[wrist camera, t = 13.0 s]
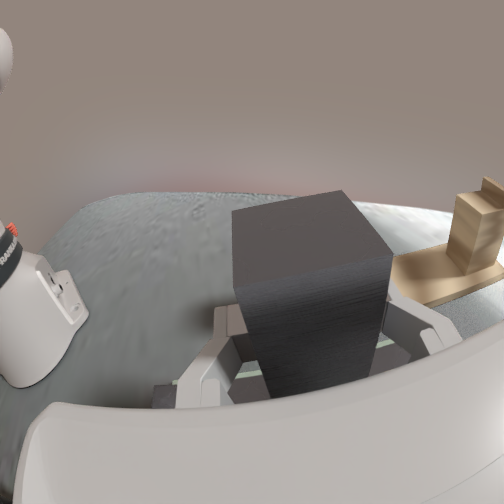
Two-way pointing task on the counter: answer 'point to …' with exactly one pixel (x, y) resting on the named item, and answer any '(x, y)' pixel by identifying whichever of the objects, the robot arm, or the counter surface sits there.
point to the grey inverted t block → (307, 297)
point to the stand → (457, 252)
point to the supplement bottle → (5, 500)
